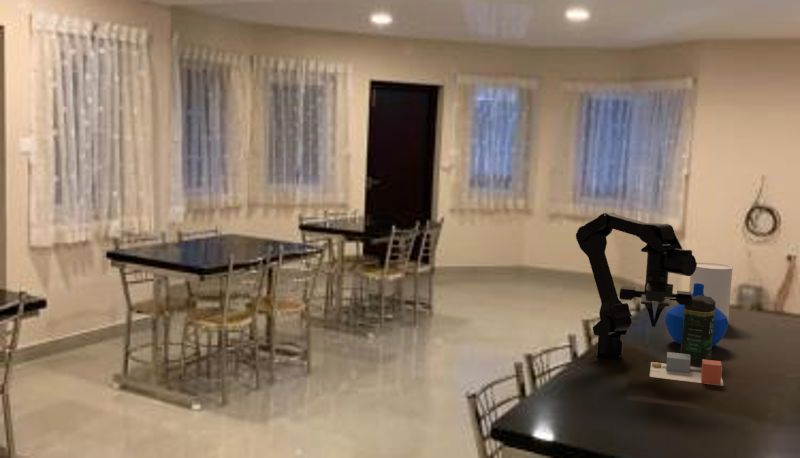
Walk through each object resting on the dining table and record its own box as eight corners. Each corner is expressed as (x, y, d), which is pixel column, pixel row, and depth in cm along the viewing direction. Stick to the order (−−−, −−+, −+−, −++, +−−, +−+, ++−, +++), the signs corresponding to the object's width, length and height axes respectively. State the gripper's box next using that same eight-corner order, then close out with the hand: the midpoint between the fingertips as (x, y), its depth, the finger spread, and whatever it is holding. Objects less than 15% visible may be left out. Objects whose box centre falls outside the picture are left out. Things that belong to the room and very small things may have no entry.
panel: (649, 380, 207) (650, 369, 206) (651, 365, 221) (651, 355, 220) (723, 389, 201) (724, 377, 201) (720, 373, 215) (721, 362, 215)
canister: (734, 326, 272) (738, 269, 270) (695, 325, 272) (699, 268, 270) (719, 318, 285) (723, 263, 283) (681, 316, 285) (685, 262, 283)
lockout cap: (701, 382, 203) (702, 363, 202) (700, 377, 207) (702, 359, 206) (720, 384, 201) (721, 365, 201) (719, 380, 205) (720, 361, 205)
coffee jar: (705, 365, 222) (710, 301, 220) (676, 360, 227) (681, 297, 225) (714, 358, 230) (719, 296, 228) (686, 353, 235) (691, 292, 233)
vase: (661, 347, 241) (665, 286, 238) (665, 334, 257) (669, 277, 255) (726, 355, 234) (731, 292, 232) (726, 341, 251) (730, 282, 248)
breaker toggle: (666, 370, 213) (666, 357, 212) (666, 364, 218) (667, 351, 218) (689, 372, 211) (690, 360, 210) (689, 366, 217) (690, 354, 216)
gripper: (619, 271, 209) (616, 329, 211) (694, 277, 203) (690, 337, 205) (622, 265, 220) (619, 320, 222) (693, 271, 214) (689, 327, 216)
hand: (653, 326), depth 216 cm, fingers closed
